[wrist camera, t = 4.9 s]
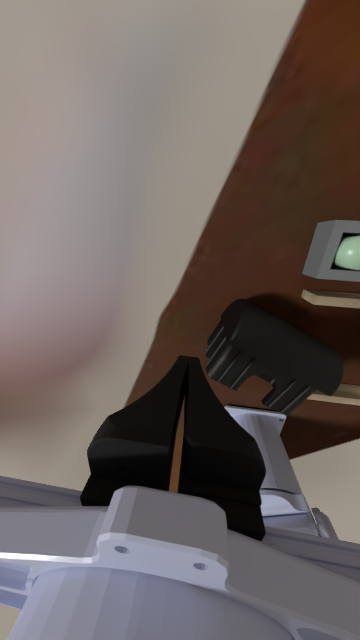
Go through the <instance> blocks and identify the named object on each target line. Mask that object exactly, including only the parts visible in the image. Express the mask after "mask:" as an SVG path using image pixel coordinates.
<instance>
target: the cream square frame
mask: <svg viewBox="0 0 360 640" xmlns="http://www.w3.org/2000/svg"><path fill="white" fill-rule="evenodd" d="M301 297H302V298H304V299H305V300H307V301H309V302H310V303H312V304H314V305H326V306H338V307H349V308H360V294H356V293H343V292H330V291H318V290H305V289H304V290H303V293H302V296H301ZM307 399H312V400H320V401H328V402H336V403H344V404H352V405H360V386H358V385H349V384H340V386H339V387H338V389H337V390H336V392H335V393H334V394H333V395H332V396H331V397H330V396H328V395H326V394H324V393H322V392H320V391H318V390H316V391H315V392H314V393H313V394H312V395H310V396H309V397H308V398H307Z"/></svg>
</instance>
